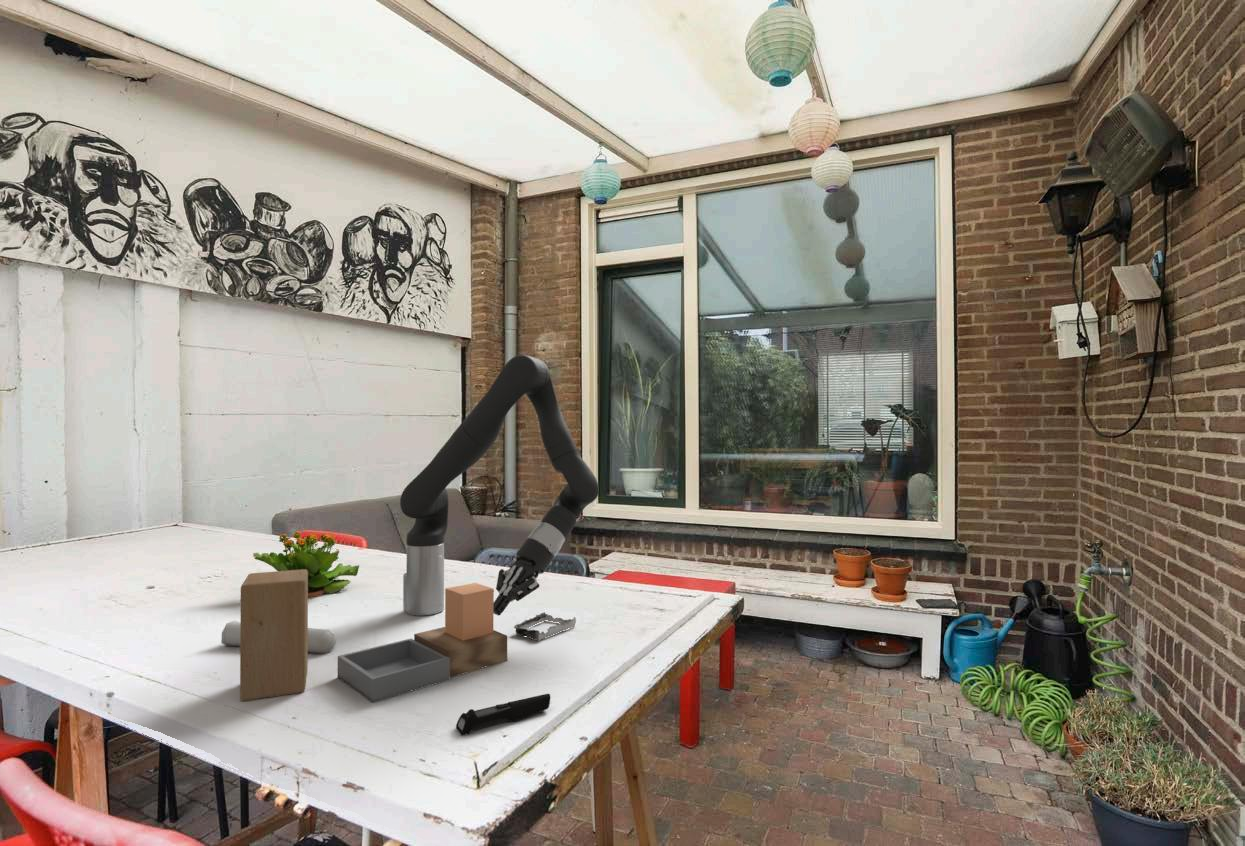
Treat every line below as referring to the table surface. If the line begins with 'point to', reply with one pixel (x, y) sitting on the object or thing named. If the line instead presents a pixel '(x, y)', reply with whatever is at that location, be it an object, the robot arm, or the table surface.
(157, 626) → the table surface
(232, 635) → the tube
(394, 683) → the box
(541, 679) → the table surface
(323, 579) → the potted flower
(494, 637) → the square wooden plinth
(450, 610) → the terracotta block
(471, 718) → the electric trimmer
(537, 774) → the table surface
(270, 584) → the wooden block
